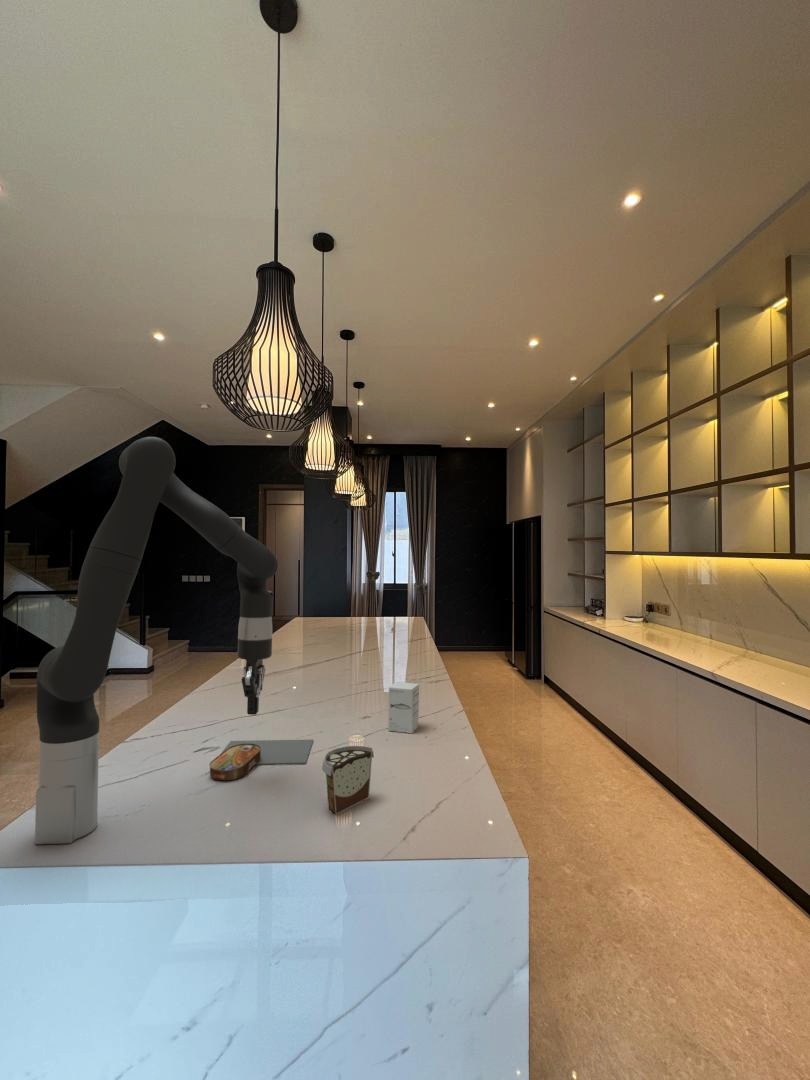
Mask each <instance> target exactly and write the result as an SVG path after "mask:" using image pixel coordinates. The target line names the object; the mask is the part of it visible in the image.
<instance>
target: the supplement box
mask: <svg viewBox="0 0 810 1080" xmlns="http://www.w3.org/2000/svg"><path fill="white" fill-rule="evenodd" d="M419 700H420V683H411V682H400V681H395V682H393V683H392V685H390V686H389V687H388V721H387V722H388V723H387V724H388V727H387V728H388V729H387V730H388V732H396V733H397V732H399V733H405V732H406V733H407V734H408V733H409V734H413V733H414V732H415V731H414V730H417V729H418V728H419V717H420V714H419V712H420V711H419V710H420V709H419V708H420V707H419V706H420V704H419V703H420V701H419Z"/></svg>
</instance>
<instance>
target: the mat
mask: <svg viewBox="0 0 810 1080" xmlns="http://www.w3.org/2000/svg"><path fill="white" fill-rule="evenodd" d="M246 743H250V744H256V745H258V746H260V747H261V756H260V760H259V761H258V762H257V763H256V764H255V765H254V766H276V764H289V765H306V764H307V762H308V758H309V755H310V752H311V751H312V750H311V749H312V746H313V743H314V739H268V740H267V739H263V740H261V739H260V740H255V739H254V740H230V741H229V743H228V744H226V746H225V747H224V749H223V750H222V751H221V753H220V754H222V753H223V752H224V751H225V750H226V749H228V748H229V747H232V746H234V745H238V744H246Z"/></svg>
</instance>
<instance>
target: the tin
mask: <svg viewBox="0 0 810 1080" xmlns="http://www.w3.org/2000/svg"><path fill="white" fill-rule="evenodd" d="M221 753H222V752H221ZM221 753H220V754H219V755H217V756H216V757H215V758H214V759H213V760H211V761H210V762H209V776H210V777H211V778H212V779H213V780H218V781H219V780H220V781H234V780H237V779H240V778H242V777H244V776H245V775H246V774H247V773H248V772H249V771H250V770H251V769H252V768H253V767H254V766H256V765H255V764H256V763H257V762H258V761H259V760H260V756H261V747H260V746H258V745H256V744H250V743H246V744H238V745H234V746H232V747H229V748H228V749H226V750H225V751H224V752H223V753H222V754H221Z"/></svg>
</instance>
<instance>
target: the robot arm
mask: <svg viewBox="0 0 810 1080" xmlns="http://www.w3.org/2000/svg"><path fill="white" fill-rule="evenodd" d="M176 459H177V458H176V454H175V452H174V450H173V447H172V446H171V445H170V444H169V443H168V442H167V441H166V440H164V439H163V438H160V437H157V436H146V437H142V438H139V439H136V440H135V441H133V442H132V443H130V444H129V445H128V446H127V447H126V448H125V449H124V450H122V452H121V454H120V456H119V460H118V467H119V470H120V472H121V474H122V478H121V481H120V485H119V489H118V491H117V495H116V497H115V500H114V501H113V503H112V505H111V506H110V508H109V510H108V512H107V513H106V514H105V516H104V518H103V520H102V521H101V523H100V525H99V526H98V528H97V530H96V532H95V534H94V536H93V538H92V539H91V543H90V545H89V547H88V550H87V552H86V555H85V558H84V560H83V563H82V566H81V569H80V572H79V573H80V574H79V578H78V586H77V587H78V588H77V600H76V609H75V610H76V611H75V616H74V620H73V624H72V626H71V627H70V628H71V629H70V631H69V633H68V635H67V638H66V640H65V643H64V645H60V646H58V647H55V648H53V649H51V650H50V651H48V652H47V654H46V655H45V656H44V657H43V658H42V660H41V661H40V663H39V665H38V668H37V673H36V720H37V725H38V729H39V731H38V733H39V747H38V749H39V753H38V786H37V788H36V789H35V790H36V791H35V817H34V818H35V823H34V824H35V826H34V829H35V831H34V844H35V845H46V844H47V845H50V844H51V845H52V844H53V845H55V844H72V843H73V842H74V841H75V840H78V839H80V838H82V837H85V836H86V835H88V834H90V833H91V832H93V831H94V830H95V829H96V828H97V825H98V813H99V812H98V811H99V810H98V809H99V799H98V798H99V761H100V760H99V758H100V757H99V756H100V755H99V754H100V750H99V749H100V748H99V747H100V716H99V713H98V712H97V709H96V704H95V697H94V696H95V693H97V691H98V690H99V689H100V687H101V686H102V685H103V683H104V681H105V678H106V675H107V671H108V668H109V662H110V658H111V653H112V649H113V644H114V641H115V636H116V632H117V629H118V625H119V623H120V620H121V617H122V615H123V612H124V610H125V606H126V605H127V601H128V599H129V596H130V593H131V590H132V587H133V585H134V583H135V580H136V577H137V575H138V572H139V568H140V566H141V563H142V560H143V557H144V553H145V550H146V546H147V543H148V540H149V536H150V533H151V529H152V526H153V521H154V517H155V513H156V511H157V509H158V505H159V503H161V504H163V505H164V506H165V507H167V508H168V509H169V510H171V511H172V512H174V514H176V515H177V516H179V518H180V519H182V520H183V521H185V523H186V524H188V525H189V526H190V527H191V528H192V529H194V530H195V531H196V532H197V533H198V534H199V535H201V537H203V538H204V539H205V540H206V541H207V542H208V543H209V544H211V546H213V547H214V548H215V549H216V550H217V551H218V552H220V553H221V554H222V555H225V556H227V557H229V558H232V559H233V560H235V562H236V563H237V567H236V575H237V583H238V589H239V590H238V591H239V595H240V603H239V604H240V605H239V621H238V626H237V627H238V628H237V631H238V633H237V652H236V653H237V658H238V659H240V660H245V661H246V663H245V666H244V667H243V669H242V671H243V675H244V676H242V678H241V684H242V690H243V695H244V697H246V698H247V703H246V704H247V705H246V706H247V708H246V710H247V711H246V714H248V715H257V714H258V713H259V709H260V708H259V706H260V705H259V704H260V696H261V692H262V691H263V686H264V685H263V684H264V680H265V679H264V678H265V672H266V667H265V664H264V663H263V660H267V659H269V658H271V657H272V656H273V655H272V651H273V618H272V615H273V614H272V613H273V598H272V597H273V596H272V594H271V592H270V591H268V588H267V580H268V579H271V578H273V576H274V575H275V574H277V571H278V569H279V568H278V567H279V563H278V559H277V557H276V555H275V554H274V552H272V550H271V549H270V548H268V547H267V546H266V545H265V544H263V543H262V542H260V541H259V540H258V539H256V538H254V537H253V536H251V535H250V534H249V533H247V532H246V531H245V530H244V529H243V528H242V527H241V526H240V525H239V524H238V523H237V522H236V521H235V520H234V519H233V518H231V517H230V516H229V515H228V514H227V513H226V512H225V511H223V510H222V508H219V507H218V506H217V505H215V504H213V503H212V502H211V501H209V500H207V499H206V498H204V497H203V496H202V495H199V494H198V493H196V492H195V491H193V490H192V489H191V488H190V487H188V485H186V484H185V483H184V482H183V481H182V480H181V479H180V478H179V477H177V475H176V474H175V473H174V471H175V469H176V463H177V462H176Z"/></svg>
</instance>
